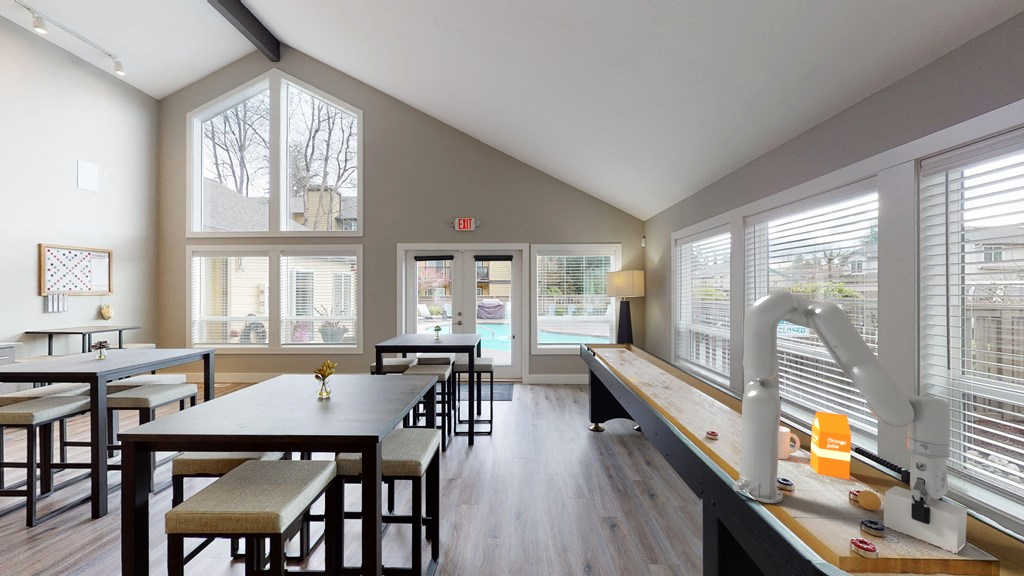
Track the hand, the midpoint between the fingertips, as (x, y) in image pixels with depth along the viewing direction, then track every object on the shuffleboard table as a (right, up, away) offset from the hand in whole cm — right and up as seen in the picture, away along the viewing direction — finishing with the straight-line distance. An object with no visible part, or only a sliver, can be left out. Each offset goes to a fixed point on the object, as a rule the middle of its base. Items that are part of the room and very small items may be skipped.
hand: (926, 516), depth 104 cm
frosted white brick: (-1, -5, 0) cm, 5 cm away
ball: (-4, -2, +13) cm, 13 cm away
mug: (-4, -6, +50) cm, 51 cm away
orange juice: (+4, -6, +38) cm, 38 cm away
